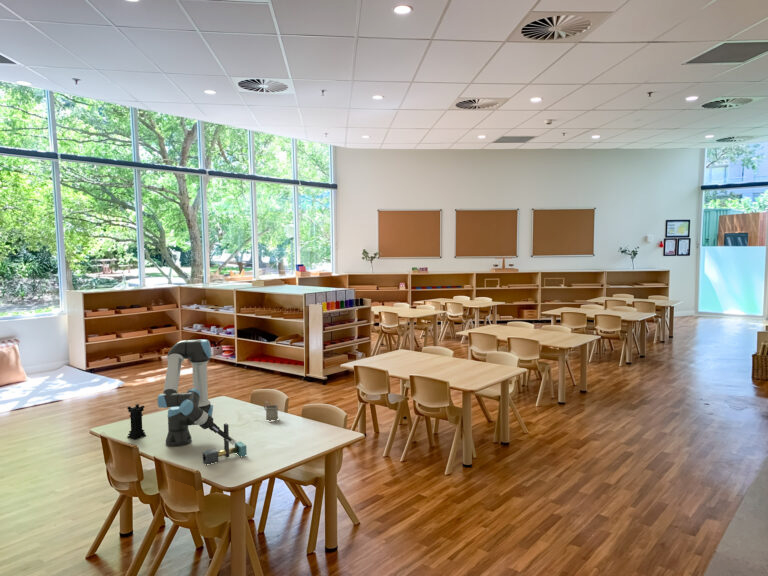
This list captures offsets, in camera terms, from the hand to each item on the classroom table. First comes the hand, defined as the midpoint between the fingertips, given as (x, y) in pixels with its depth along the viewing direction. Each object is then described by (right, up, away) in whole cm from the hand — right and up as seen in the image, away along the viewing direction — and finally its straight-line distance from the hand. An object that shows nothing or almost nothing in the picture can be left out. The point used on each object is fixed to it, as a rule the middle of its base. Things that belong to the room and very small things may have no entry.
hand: (232, 441), depth 294 cm
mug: (+6, -5, +68) cm, 68 cm away
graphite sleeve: (-10, -9, -8) cm, 16 cm away
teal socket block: (+4, -8, +3) cm, 10 cm away
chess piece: (-73, -7, +34) cm, 80 cm away
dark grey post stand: (-5, -8, -3) cm, 10 cm away
